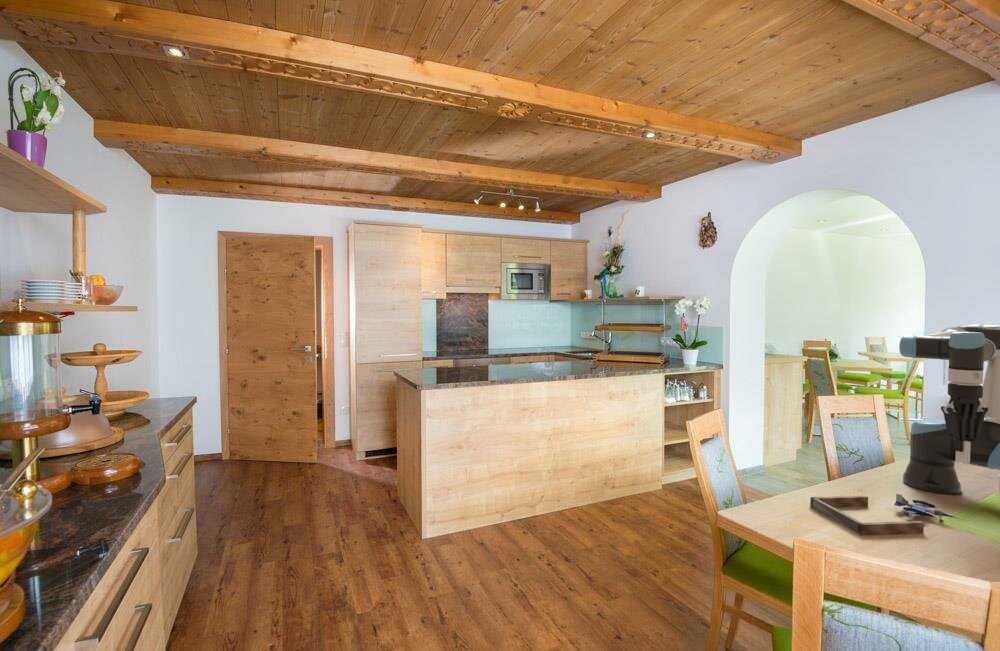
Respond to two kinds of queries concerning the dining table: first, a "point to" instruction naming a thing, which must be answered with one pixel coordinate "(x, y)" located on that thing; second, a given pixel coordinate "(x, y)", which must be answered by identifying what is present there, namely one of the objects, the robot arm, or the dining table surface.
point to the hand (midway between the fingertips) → (962, 462)
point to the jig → (872, 528)
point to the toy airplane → (919, 508)
